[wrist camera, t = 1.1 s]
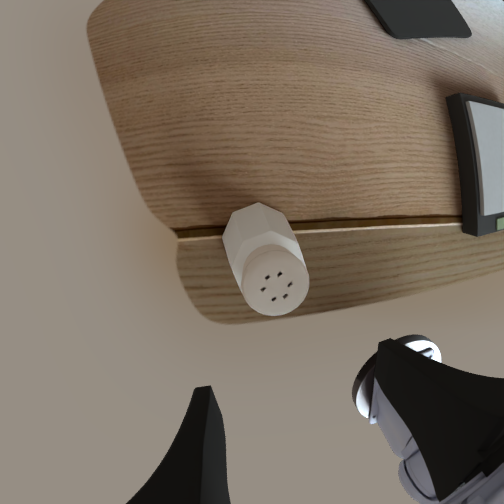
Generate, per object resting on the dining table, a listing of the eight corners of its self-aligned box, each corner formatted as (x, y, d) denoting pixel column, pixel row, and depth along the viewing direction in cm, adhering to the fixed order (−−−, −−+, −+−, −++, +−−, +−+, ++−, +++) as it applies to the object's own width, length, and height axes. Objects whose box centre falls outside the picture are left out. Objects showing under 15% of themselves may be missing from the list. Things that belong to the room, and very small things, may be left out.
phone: (474, 37, 17) (395, 38, 17) (471, 39, 17) (391, 41, 18) (443, -10, 15) (355, -18, 15) (440, -8, 16) (352, -14, 16)
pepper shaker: (305, 238, 22) (364, 285, 11) (255, 284, 23) (271, 365, 12) (258, 187, 21) (281, 188, 10) (207, 236, 22) (179, 285, 11)
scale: (516, 219, 23) (532, 223, 20) (462, 232, 23) (481, 238, 20) (503, 109, 20) (519, 107, 17) (445, 97, 19) (463, 91, 17)
